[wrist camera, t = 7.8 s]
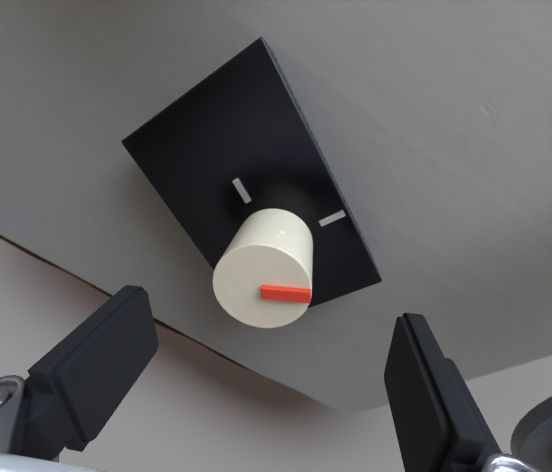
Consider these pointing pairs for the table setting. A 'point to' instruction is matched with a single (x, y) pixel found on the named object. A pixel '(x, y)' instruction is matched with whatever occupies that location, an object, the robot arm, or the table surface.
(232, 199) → the hob panel
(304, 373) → the table surface
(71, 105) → the table surface
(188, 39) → the table surface
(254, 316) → the hob knob
